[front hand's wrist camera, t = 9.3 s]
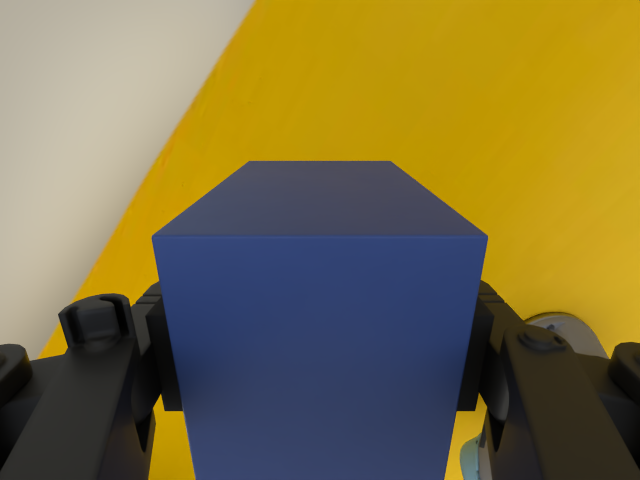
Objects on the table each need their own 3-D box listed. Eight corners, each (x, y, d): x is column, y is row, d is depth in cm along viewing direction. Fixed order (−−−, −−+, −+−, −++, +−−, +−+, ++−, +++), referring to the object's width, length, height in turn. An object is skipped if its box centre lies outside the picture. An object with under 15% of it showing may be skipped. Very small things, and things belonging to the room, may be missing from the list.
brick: (391, 160, 15) (490, 235, 6) (381, 299, 17) (442, 491, 9) (248, 160, 15) (149, 235, 6) (258, 299, 17) (197, 491, 9)
